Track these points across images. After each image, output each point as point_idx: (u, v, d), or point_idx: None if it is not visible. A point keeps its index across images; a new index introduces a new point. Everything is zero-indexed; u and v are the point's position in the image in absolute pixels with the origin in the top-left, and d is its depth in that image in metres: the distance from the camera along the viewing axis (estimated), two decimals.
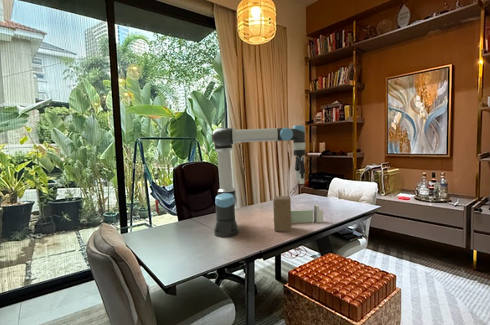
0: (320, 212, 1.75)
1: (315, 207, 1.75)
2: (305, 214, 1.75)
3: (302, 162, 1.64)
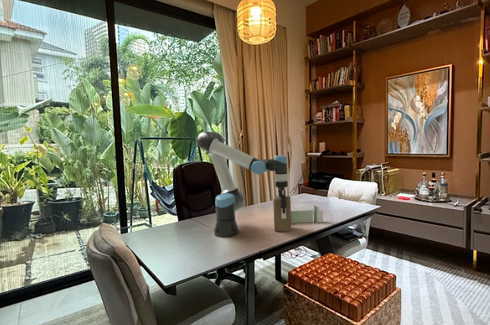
0: (320, 212, 1.75)
1: (315, 207, 1.75)
2: (305, 214, 1.75)
3: (283, 196, 1.56)
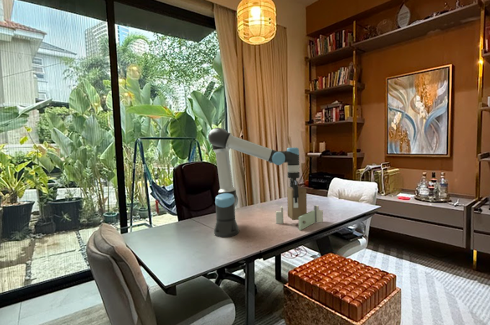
0: (320, 212, 1.75)
1: (315, 207, 1.75)
2: (311, 216, 1.71)
3: (296, 186, 1.63)
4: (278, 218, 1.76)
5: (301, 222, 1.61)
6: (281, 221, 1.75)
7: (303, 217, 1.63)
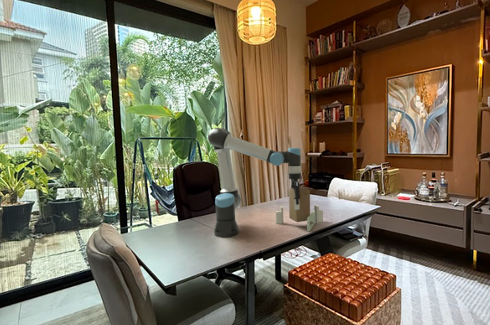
0: (320, 212, 1.75)
1: (315, 207, 1.75)
2: (314, 216, 1.70)
3: (297, 187, 1.59)
4: (278, 218, 1.76)
5: (309, 223, 1.58)
6: (281, 221, 1.75)
7: (310, 218, 1.60)
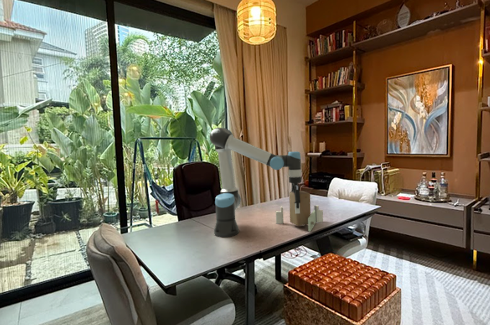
0: (320, 212, 1.75)
1: (315, 207, 1.75)
2: (314, 216, 1.70)
3: (298, 191, 1.59)
4: (278, 218, 1.76)
5: (310, 223, 1.58)
6: (281, 221, 1.75)
7: (311, 218, 1.60)
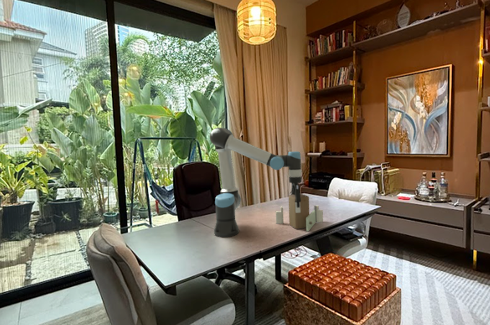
0: (320, 212, 1.75)
1: (315, 207, 1.75)
2: (313, 216, 1.70)
3: (298, 190, 1.58)
4: (278, 218, 1.76)
5: (308, 223, 1.59)
6: (281, 221, 1.75)
7: (309, 218, 1.61)
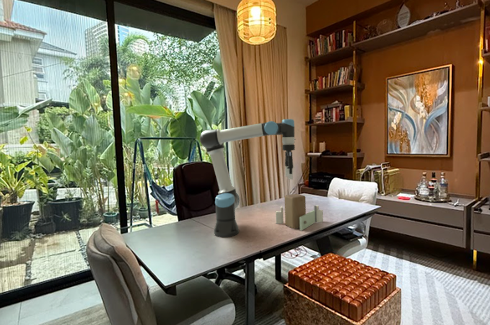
0: (320, 212, 1.75)
1: (315, 207, 1.75)
2: (311, 216, 1.70)
3: (290, 157, 1.59)
4: (278, 218, 1.76)
5: (302, 222, 1.61)
6: (281, 221, 1.75)
7: (304, 217, 1.62)
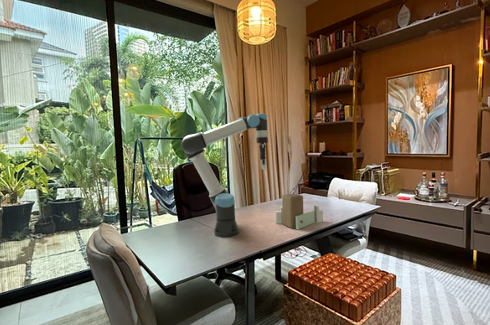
0: (320, 212, 1.75)
1: (315, 207, 1.75)
2: (310, 216, 1.71)
3: (263, 149, 1.71)
4: (278, 218, 1.76)
5: (298, 221, 1.62)
6: (281, 221, 1.75)
7: (301, 217, 1.64)
